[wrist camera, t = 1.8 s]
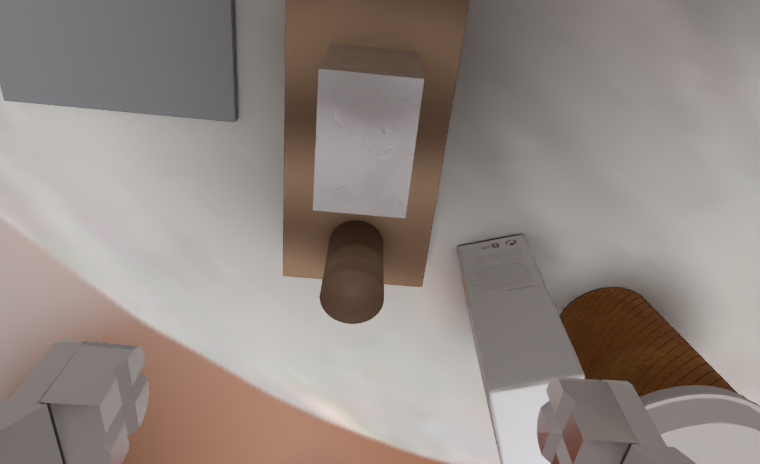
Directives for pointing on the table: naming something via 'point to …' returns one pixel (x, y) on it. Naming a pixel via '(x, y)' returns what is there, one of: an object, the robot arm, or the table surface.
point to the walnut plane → (412, 234)
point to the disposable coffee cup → (663, 376)
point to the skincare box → (514, 341)
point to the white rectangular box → (366, 130)
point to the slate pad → (121, 55)
